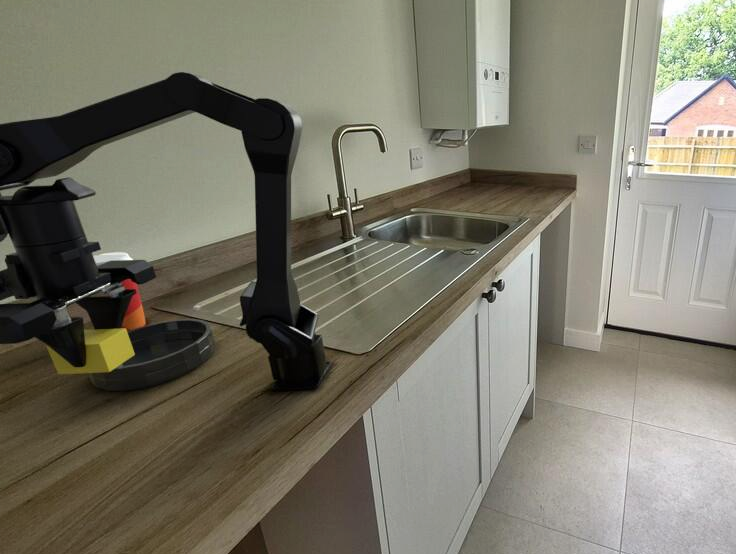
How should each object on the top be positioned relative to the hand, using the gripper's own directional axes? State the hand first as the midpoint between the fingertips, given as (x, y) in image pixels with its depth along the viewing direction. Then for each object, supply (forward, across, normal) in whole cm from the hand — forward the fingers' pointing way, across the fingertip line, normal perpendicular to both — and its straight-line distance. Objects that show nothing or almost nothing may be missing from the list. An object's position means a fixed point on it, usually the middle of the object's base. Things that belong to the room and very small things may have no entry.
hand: (95, 356), depth 52 cm
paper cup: (+9, -25, -18) cm, 32 cm away
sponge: (+1, 0, 0) cm, 1 cm away
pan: (+8, -12, -3) cm, 15 cm away
